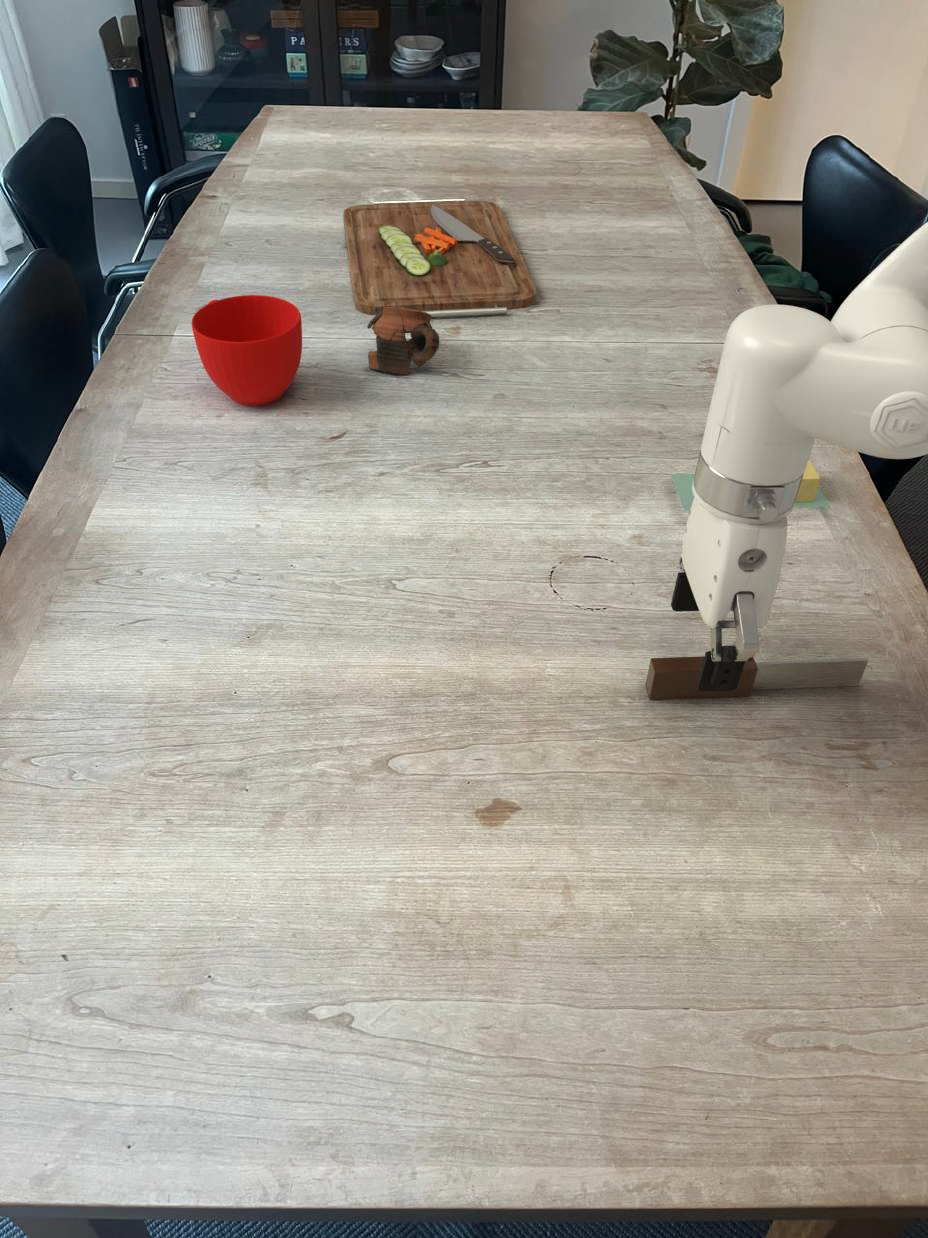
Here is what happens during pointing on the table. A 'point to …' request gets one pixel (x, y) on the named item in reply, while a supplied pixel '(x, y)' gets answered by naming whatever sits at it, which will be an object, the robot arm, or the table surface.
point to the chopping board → (435, 258)
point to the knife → (750, 676)
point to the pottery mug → (401, 339)
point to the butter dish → (686, 495)
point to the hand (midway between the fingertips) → (701, 647)
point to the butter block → (808, 484)
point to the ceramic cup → (249, 346)
